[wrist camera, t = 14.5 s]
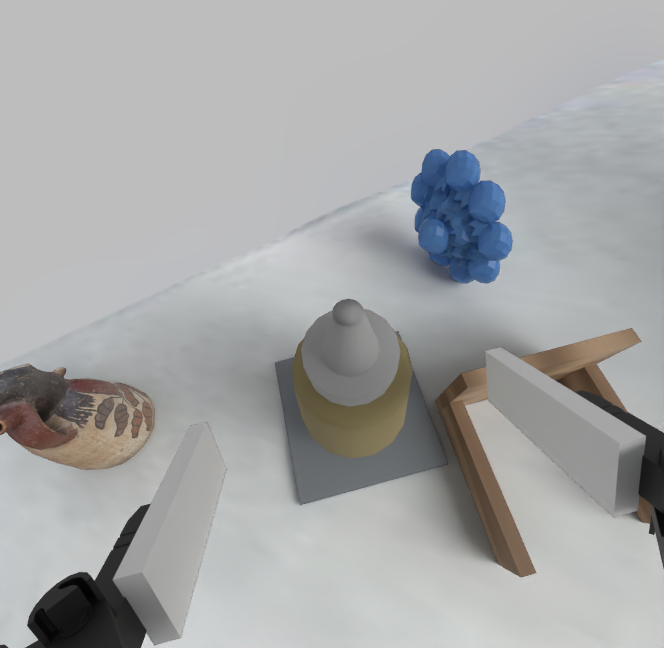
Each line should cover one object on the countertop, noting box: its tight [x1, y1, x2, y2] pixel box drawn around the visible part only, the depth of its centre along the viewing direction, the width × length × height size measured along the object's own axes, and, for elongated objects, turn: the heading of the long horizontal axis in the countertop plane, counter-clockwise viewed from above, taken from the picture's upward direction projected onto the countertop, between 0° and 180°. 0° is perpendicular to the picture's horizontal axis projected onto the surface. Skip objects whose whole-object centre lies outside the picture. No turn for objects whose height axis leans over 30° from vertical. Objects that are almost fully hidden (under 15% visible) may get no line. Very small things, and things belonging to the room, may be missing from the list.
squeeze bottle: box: [292, 299, 413, 458], centre depth 20 cm, size 8×8×18 cm
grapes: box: [411, 149, 513, 284], centre depth 29 cm, size 12×7×12 cm, turn 33°
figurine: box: [0, 364, 154, 470], centre depth 24 cm, size 7×7×12 cm
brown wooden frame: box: [435, 328, 653, 577], centre depth 23 cm, size 12×12×8 cm
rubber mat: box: [275, 331, 448, 505], centre depth 28 cm, size 12×12×1 cm
